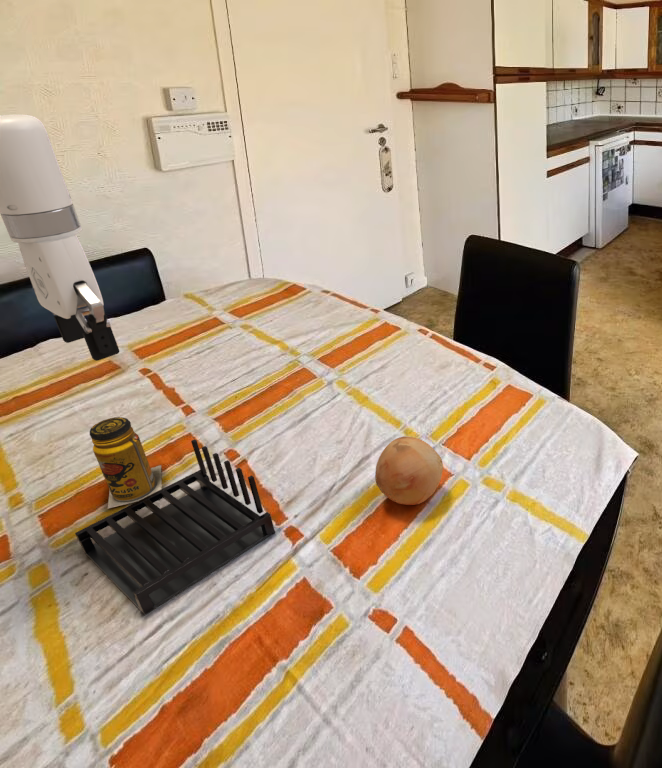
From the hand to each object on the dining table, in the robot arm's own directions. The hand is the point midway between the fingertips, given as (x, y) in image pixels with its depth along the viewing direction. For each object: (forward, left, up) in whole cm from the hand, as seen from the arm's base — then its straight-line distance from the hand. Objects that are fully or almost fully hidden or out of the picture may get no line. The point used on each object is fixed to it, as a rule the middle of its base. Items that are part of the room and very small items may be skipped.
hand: (91, 347), depth 86 cm
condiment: (-1, +2, -24) cm, 24 cm away
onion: (+23, -35, -24) cm, 49 cm away
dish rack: (-3, -16, -24) cm, 29 cm away
